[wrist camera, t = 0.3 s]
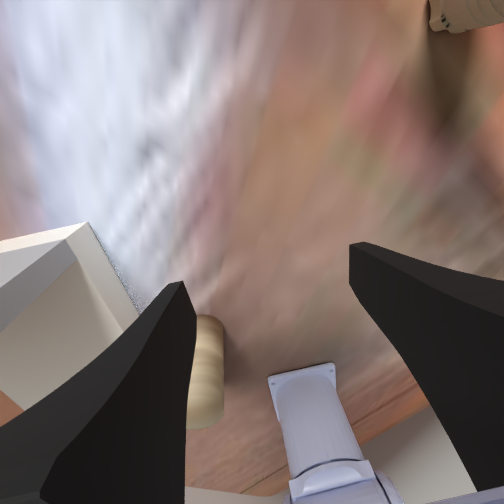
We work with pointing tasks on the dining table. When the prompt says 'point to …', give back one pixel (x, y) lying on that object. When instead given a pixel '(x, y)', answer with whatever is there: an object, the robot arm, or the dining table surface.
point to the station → (54, 312)
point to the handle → (465, 14)
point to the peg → (206, 375)
